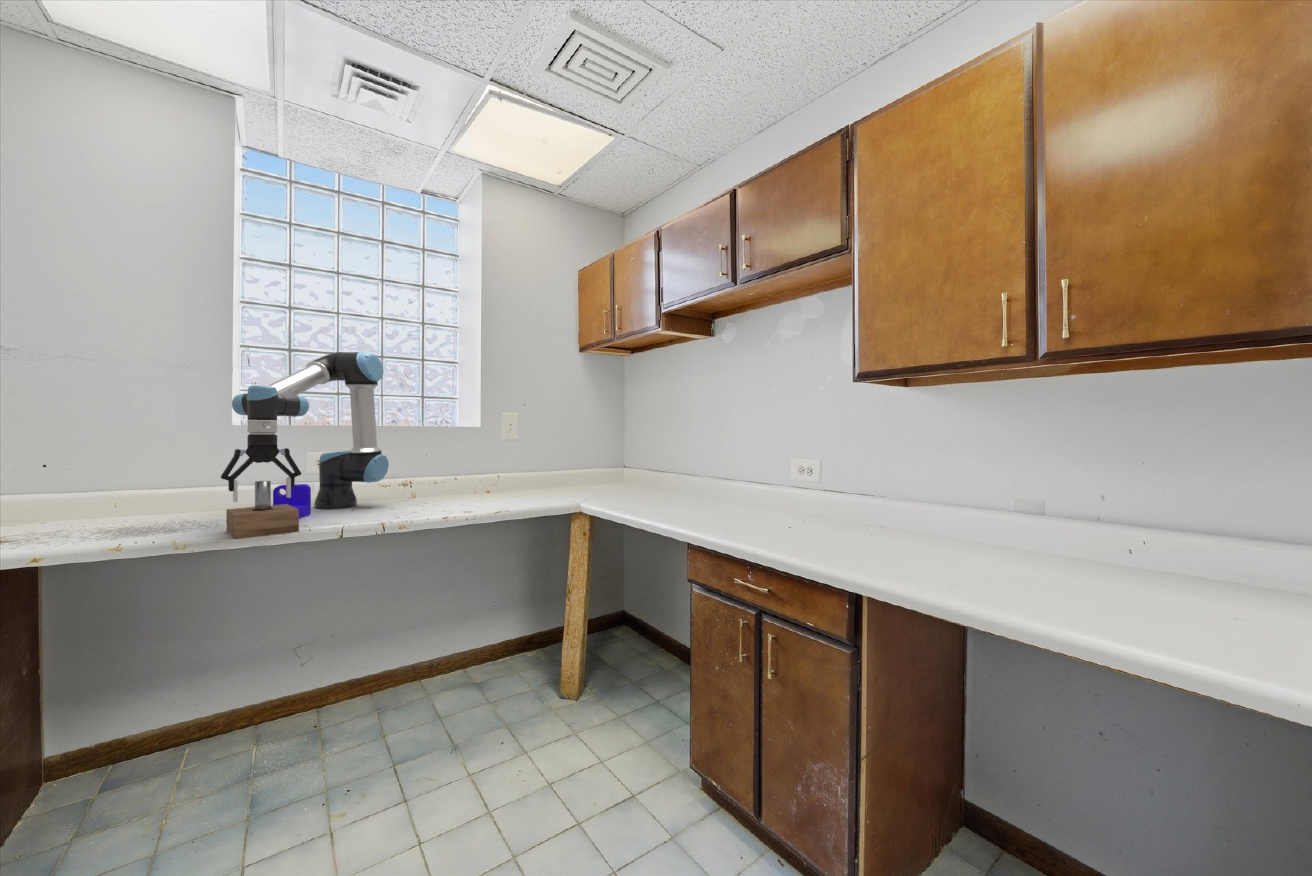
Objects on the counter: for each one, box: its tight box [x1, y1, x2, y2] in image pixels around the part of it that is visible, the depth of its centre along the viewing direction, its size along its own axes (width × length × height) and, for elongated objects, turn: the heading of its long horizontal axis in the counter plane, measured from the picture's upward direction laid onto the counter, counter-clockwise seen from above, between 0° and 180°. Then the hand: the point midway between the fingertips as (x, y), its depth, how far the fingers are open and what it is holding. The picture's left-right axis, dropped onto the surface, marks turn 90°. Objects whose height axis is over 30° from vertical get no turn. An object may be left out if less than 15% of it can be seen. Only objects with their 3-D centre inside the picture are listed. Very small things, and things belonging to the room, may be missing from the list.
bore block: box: [225, 504, 300, 540], centre depth 159 cm, size 16×16×7 cm
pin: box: [254, 480, 272, 511], centre depth 159 cm, size 4×4×14 cm
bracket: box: [272, 483, 312, 520], centre depth 181 cm, size 18×11×12 cm, turn 27°
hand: (262, 499), depth 159 cm, fingers open, 13 cm apart
